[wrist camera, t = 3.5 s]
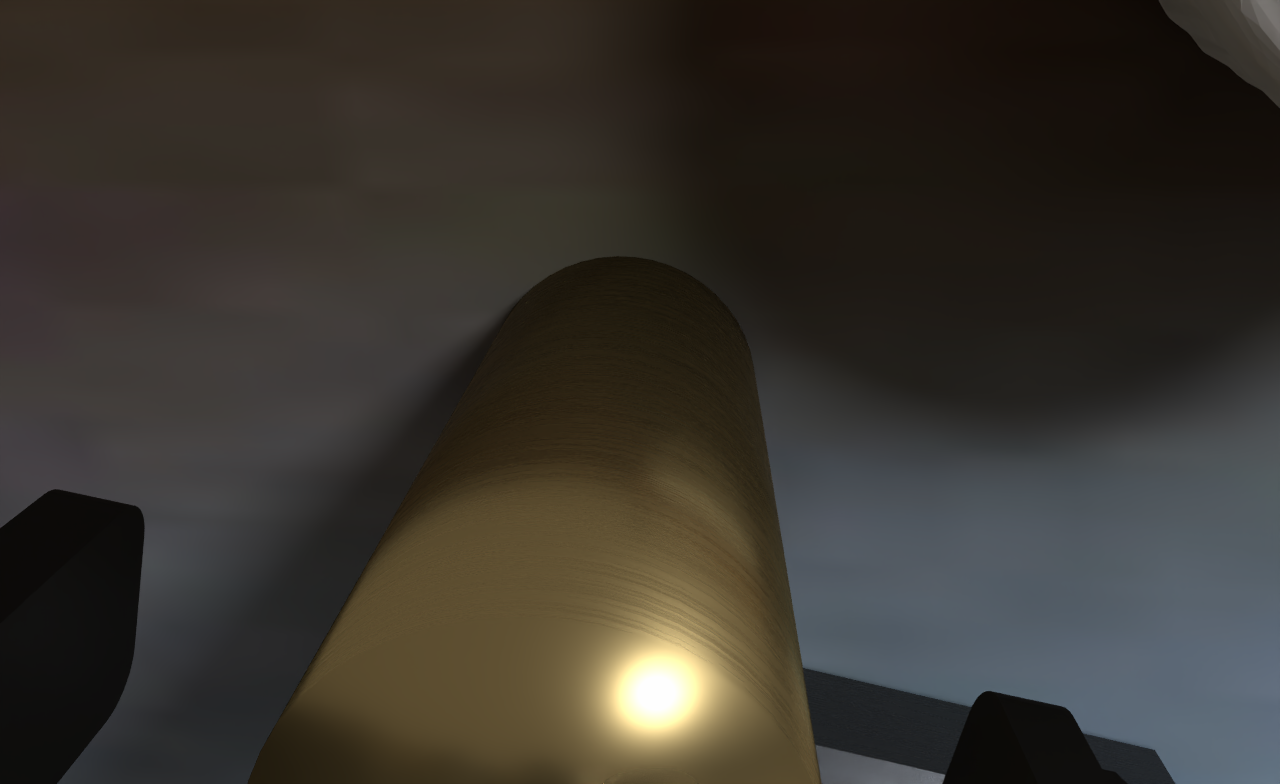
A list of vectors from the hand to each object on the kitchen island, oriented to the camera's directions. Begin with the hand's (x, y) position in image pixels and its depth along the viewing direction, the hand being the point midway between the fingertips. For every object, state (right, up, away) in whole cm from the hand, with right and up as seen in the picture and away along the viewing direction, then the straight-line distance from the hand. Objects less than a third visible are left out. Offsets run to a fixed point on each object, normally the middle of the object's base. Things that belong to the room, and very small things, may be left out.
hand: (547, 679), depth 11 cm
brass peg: (+1, +3, +6) cm, 7 cm away
